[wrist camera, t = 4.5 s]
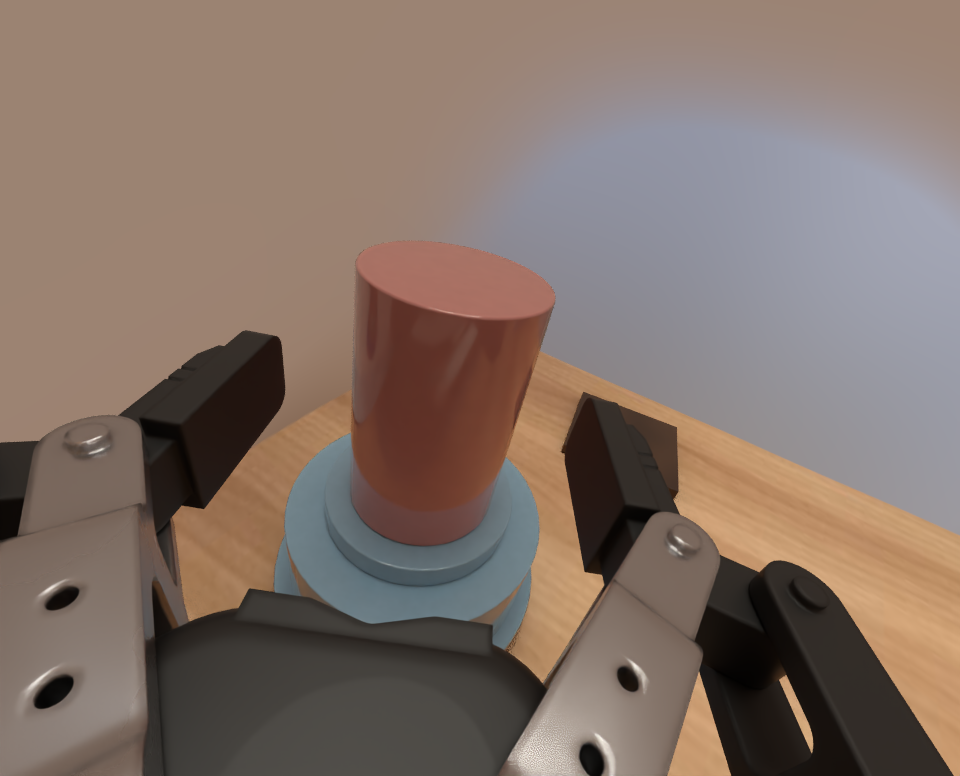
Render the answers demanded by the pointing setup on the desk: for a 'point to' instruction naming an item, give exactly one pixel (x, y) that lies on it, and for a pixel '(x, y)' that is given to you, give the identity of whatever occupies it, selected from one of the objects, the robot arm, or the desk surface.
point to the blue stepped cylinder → (406, 555)
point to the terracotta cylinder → (438, 383)
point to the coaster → (649, 441)
